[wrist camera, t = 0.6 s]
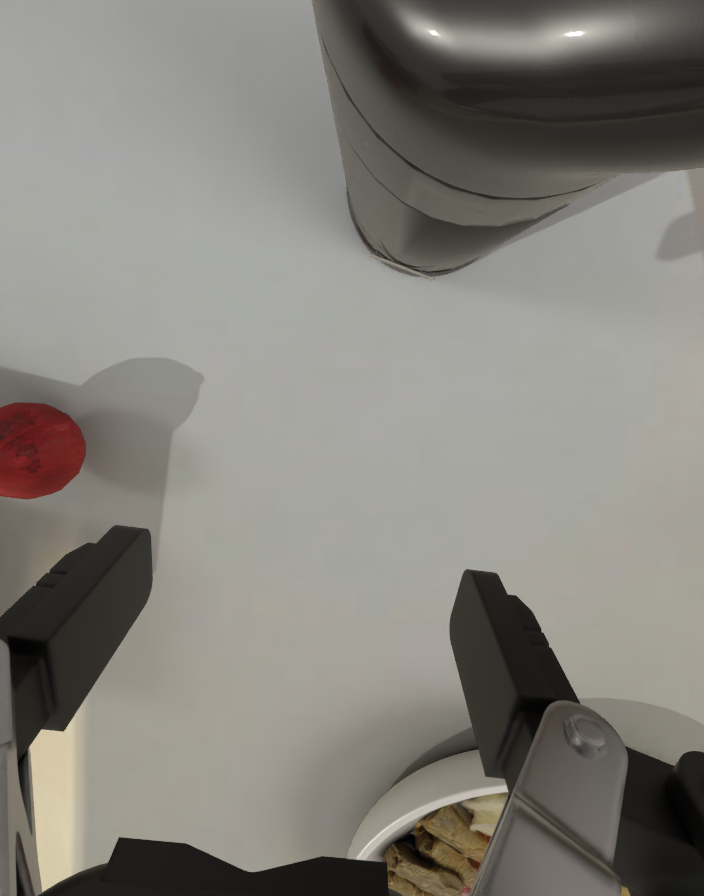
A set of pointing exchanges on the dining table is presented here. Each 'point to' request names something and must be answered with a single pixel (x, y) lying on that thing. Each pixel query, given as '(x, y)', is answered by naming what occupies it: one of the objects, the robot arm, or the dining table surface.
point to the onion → (37, 450)
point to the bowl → (434, 827)
